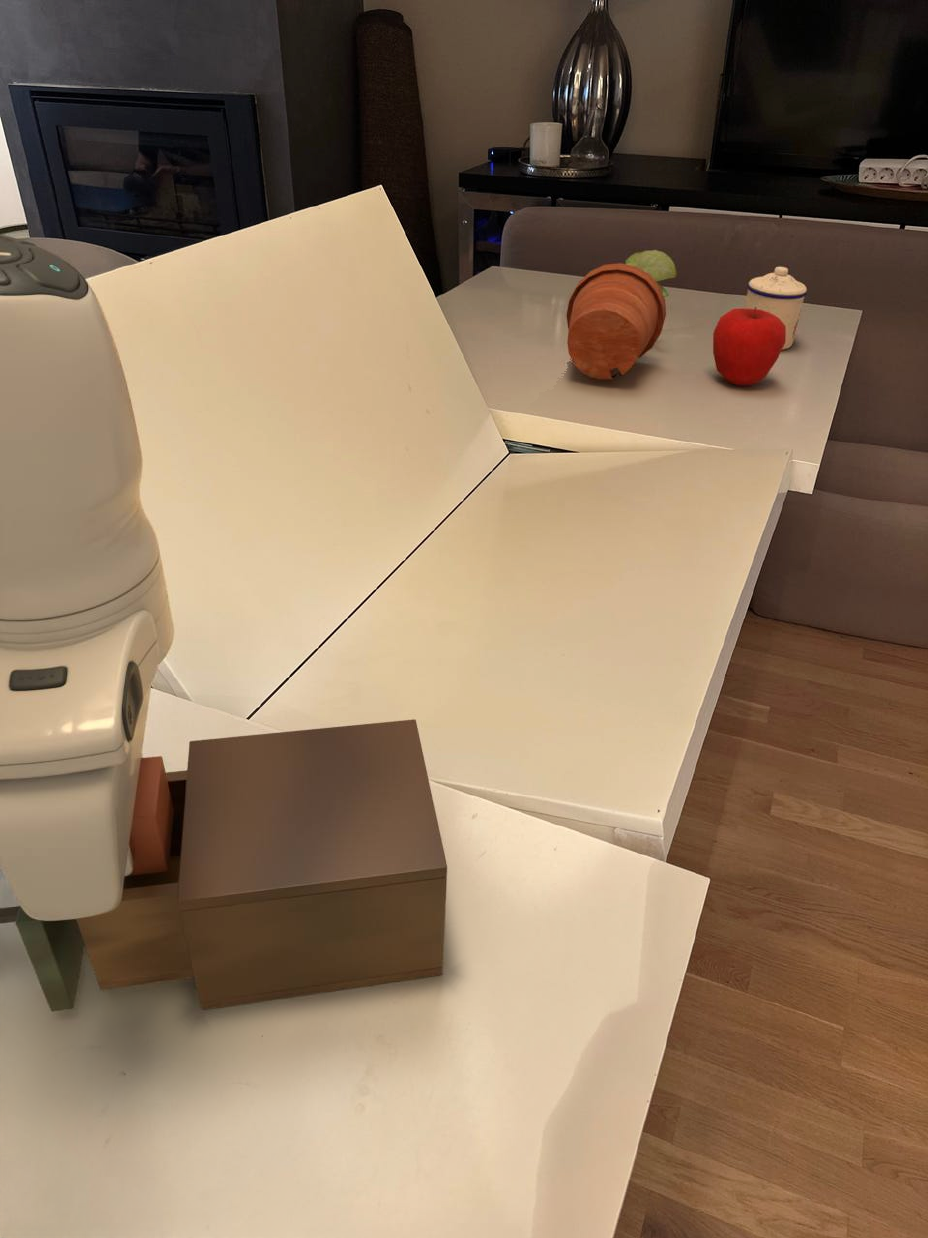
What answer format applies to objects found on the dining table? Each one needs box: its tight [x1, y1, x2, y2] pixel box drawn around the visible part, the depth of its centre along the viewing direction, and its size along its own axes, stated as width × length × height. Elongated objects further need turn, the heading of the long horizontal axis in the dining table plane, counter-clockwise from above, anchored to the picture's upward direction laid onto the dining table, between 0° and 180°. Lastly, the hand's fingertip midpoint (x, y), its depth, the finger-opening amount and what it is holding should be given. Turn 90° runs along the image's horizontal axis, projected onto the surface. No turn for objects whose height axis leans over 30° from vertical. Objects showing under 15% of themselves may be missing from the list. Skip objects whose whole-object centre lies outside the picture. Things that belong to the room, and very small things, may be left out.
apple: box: [712, 307, 786, 387], centre depth 130 cm, size 10×10×11 cm
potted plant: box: [565, 249, 677, 380], centre depth 138 cm, size 16×15×35 cm
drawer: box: [0, 769, 194, 1013], centre depth 52 cm, size 17×10×8 cm, turn 101°
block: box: [127, 755, 174, 876], centre depth 49 cm, size 4×4×4 cm
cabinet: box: [177, 718, 448, 1010], centre depth 53 cm, size 14×12×10 cm
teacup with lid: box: [743, 266, 808, 351], centre depth 146 cm, size 12×9×12 cm
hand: (123, 824), depth 49 cm, fingers closed on block, 4 cm apart
